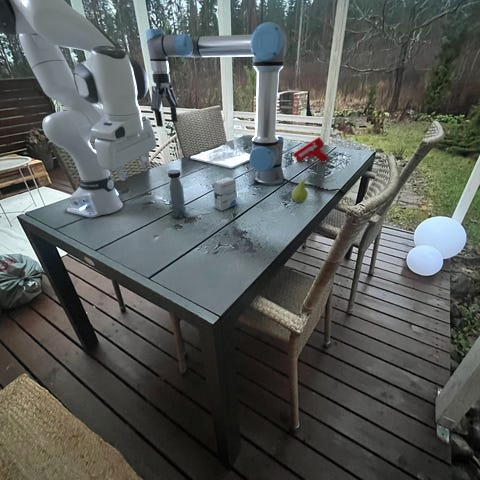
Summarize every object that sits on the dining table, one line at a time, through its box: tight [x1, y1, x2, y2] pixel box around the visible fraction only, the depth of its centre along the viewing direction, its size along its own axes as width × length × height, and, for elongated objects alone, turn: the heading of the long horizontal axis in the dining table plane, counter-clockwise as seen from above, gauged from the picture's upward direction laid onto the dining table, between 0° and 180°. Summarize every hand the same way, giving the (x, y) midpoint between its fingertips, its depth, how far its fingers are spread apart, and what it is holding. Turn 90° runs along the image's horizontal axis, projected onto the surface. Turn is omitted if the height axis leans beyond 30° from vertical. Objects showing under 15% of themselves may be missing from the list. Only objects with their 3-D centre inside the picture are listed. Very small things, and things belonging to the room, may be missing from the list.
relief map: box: [190, 144, 250, 169], centre depth 178 cm, size 27×35×5 cm
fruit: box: [291, 174, 311, 204], centre depth 118 cm, size 7×8×12 cm
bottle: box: [168, 177, 187, 219], centre depth 107 cm, size 5×5×18 cm
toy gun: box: [293, 136, 329, 164], centre depth 170 cm, size 18×4×15 cm
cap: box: [167, 169, 182, 179], centre depth 102 cm, size 4×4×2 cm
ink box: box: [212, 176, 237, 211], centre depth 115 cm, size 8×5×12 cm, turn 135°
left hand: (134, 173), depth 79 cm, fingers open, 8 cm apart
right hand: (167, 124), depth 132 cm, fingers open, 13 cm apart
